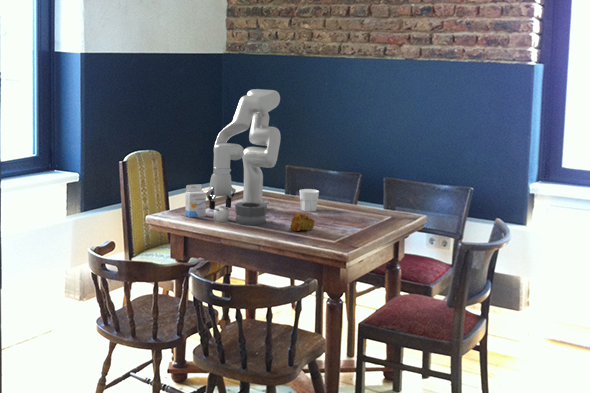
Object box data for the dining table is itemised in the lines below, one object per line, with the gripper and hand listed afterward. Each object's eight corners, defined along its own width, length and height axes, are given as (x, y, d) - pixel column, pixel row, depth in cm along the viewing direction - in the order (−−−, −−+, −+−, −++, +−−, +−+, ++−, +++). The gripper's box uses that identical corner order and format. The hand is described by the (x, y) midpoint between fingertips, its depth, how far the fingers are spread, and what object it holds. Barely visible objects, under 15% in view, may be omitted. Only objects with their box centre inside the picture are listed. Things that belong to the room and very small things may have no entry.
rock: (291, 237, 297) (300, 219, 301) (307, 242, 293) (317, 224, 298) (286, 224, 288) (296, 206, 292) (303, 229, 284) (312, 211, 289)
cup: (307, 212, 330) (308, 193, 328) (294, 209, 338) (295, 190, 336) (322, 210, 336) (323, 191, 334) (309, 207, 344) (310, 188, 342)
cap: (222, 218, 311) (222, 206, 310) (231, 220, 306) (231, 208, 305) (210, 219, 306) (210, 208, 305) (220, 222, 301) (220, 210, 300)
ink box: (189, 217, 308) (189, 186, 306) (185, 215, 312) (185, 185, 310) (206, 216, 313) (206, 185, 310) (201, 214, 317) (201, 184, 314)
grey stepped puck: (251, 217, 314) (252, 200, 313) (272, 222, 305) (272, 205, 303) (229, 221, 304) (229, 204, 303) (249, 226, 295) (250, 209, 293)
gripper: (230, 169, 310) (229, 205, 313) (201, 171, 298) (200, 208, 300) (241, 171, 305) (239, 208, 308) (212, 173, 293) (210, 211, 295)
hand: (220, 208), depth 304 cm, fingers open, 9 cm apart
